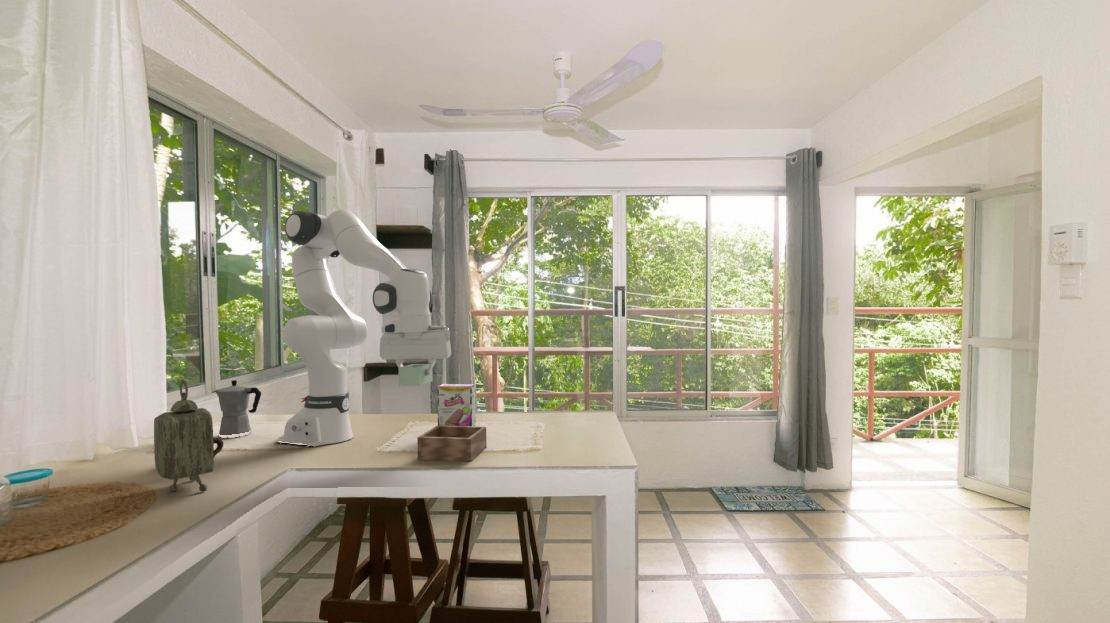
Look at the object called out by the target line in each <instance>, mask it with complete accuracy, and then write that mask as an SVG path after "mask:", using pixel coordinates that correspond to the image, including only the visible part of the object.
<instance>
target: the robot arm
mask: <svg viewBox="0 0 1110 623" xmlns="http://www.w3.org/2000/svg"><path fill="white" fill-rule="evenodd" d="M284 232H285V236H286V237H287V239H288V240H289V241H291V242H293V243H294V244H296V245H299V247H297V248H296V249H295V250H294V251H293V253H292V256H291V263H292V264H291V266H292V275H293V279H294V283H295V287H296V292H297V295H298V296H297V297H298V300H299V301H300V304H302V306H303V307H305V308H306V309H308V310H310V311H313V312H314V313H315V314H310V315H308V314H306V315H302V316H301V315H300V316H297V317H292V318H290V319H289V320H288V321H286V323H285V325H284V327H283V330H282V336H283V340H284V343H285V344H286V346H287V347H288V348H289V349H290V350H291V351H293V352H295V353H296V354H297V355H298V356H299V357H300V358H301V360H302V361H303V363H304V365H305V368H306V370H307V378H308V395H306V396H305V397H302V398H301V400H300V403H304V404H303V406H304V407H302V408H301V409H299V411H297V412H296V413H295V414H294V415H292V416H291V417H290V418H289V419H287V421H286V423H285V425H284V432H283V435H280V436H278V437H277V438H276V439H275V442H276V441H282V442H289V443H302V444H307V445H310V446H313V447H319V446H324V445H330V444H337V443H341V442H346V441H348V440H351V439H353V438H354V437H355V436H354V433H353V429H352V426H351V425H352V424H351V420H350V415H349V414H350V412H349V409H350V393H349V391H348V370H347V368H346V367H345V366H344V364H342V363H341V362H339V361H337V360H334V359H333V358H332V355H331V350H340V349H341V350H342V349H343V350H344V349H349V348H355V347H357V346H360V345H362V344H364V343H365V341H366V340H367V338H368V333H369V329H368V328H369V327H368V325H367V322H366V320H364V318H363V317H361V316H360V315H357V314H356V313H355V312H353V310H351V309H349V307H348V306H347V305H346V304H345V303H344V301H343V300H342V299H341V297H340V296H339V293H338V291H337V288H336V285H335V282H334V279H333V274H332V271H331V268H330V266H329V259H330V257H331V258H338V257H339V256H341V257H342V258H343V259H344V260H345V261H346V262H347V263H349V264H350V265H352V266H353V265H354V266H357V267H360V268H365V269H370V270H373V271H376V272H379V273H381V274H383V275H385V277H387V278H388V279H389V280H386V281H384V282H381V283H378V285H376V287H375V288H374V290H373V293H372V305H373V306H374V309H375V310H376V311H377V313H379V314H381V315H386V316H397V320H396V321H395V320H394V321H392V322H390V323H387V324H385V325H382V326H381V333H382V336H380V339H379V356H380V358H381V359H382V360H395V364H396V366H397V367H398V368H399V367H403V366H404V364H403V363H405V362H404V361H405V360H427V361H428V362H427V364H430V365H429V367H428V368H427V369H425V375H432V373H433V368H434V366H435V365H436V364H437V360H439V359H440V360H441V359H442V360H443V359H444V360H445V359H448V358H450V357H451V356H452V346H451V341H450V340H451V330H450V328H449V327H447V326H446V325H441V324H440V325H431V317H432V316H431V312H430V311H431V310H430V308H431V307H432V304H433V294H432V291H431V288H430V281H429V277H428V274H427V273H426V272H425V271H424V270H421V269H412V268H407V266H405V264H404V263H402V261H401V260H400V259H399V258H398V257H397V256H396V255H395V254H394V253H393V252H392V251H390V250H389V249H388V248H387V247H385V246H384V245H383V244H382V243H380V241H379V240H378V239H377V238H375V236H374V235H373V234H372V233H371V232H370V230H369V228H368V227H367V226H366V225H365V224H364V222H363V221H361V219H360V218H359V217H358V216H357V215H356V214H354V213H353V211H350V210H348V209H345V208H344V209H337V210H334V211H332V212H331V213H329V215H325V214H319V213H315V212H311V211H308V210H307V211H306V210H297V211H294V212H292V213H291V214H290V215H289V216H288V217H287V218H286V221H285V224H284Z"/></svg>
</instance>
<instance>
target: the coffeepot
mask: <svg viewBox="0 0 1110 623" xmlns="http://www.w3.org/2000/svg"><path fill="white" fill-rule="evenodd" d="M237 383H238V381H237V380H236V379H232V380H231V386H227V387H223V388H220V389H219V388H218V389H216V390H213V392H214V393H215V394H216V395H217V397H218V401H219V402H218V403H219V408H220V411H221V412H222V416H221V420H220V427H219V432H218V435H219V434H220V435H232V434H240V433H245V432H249V431H250V430H251V431H252V429H251V425H250V420H249V415H248V414H247V409H248V408H249V402H250V395H251V394H255V396H254V400H253V403H252V408H251V409H248V412H249V413H250V414H253V413H256V412H257V409H258V407H259V403H260V399H261V396H262V392H261V390H260V389H259V388H258V387H247V386H242V385H241V386H240V385H237Z"/></svg>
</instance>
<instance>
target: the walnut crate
mask: <svg viewBox="0 0 1110 623" xmlns="http://www.w3.org/2000/svg"><path fill="white" fill-rule="evenodd" d="M487 444H488V443H487V426H476V427H474V426H438V424H437V425H436V426H433V427H432V428H431V429H429V430H427V431H426V432H424V433H422V434H420V435H419V436H417V460H424V461H447V462H449V461H450V462H469V463H470V462H472V461H473V460H475V459H476V458H477V457H478V456H479V455H480V454H481V453H482V452H483V451H484V450H485V449H486V448H487Z"/></svg>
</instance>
